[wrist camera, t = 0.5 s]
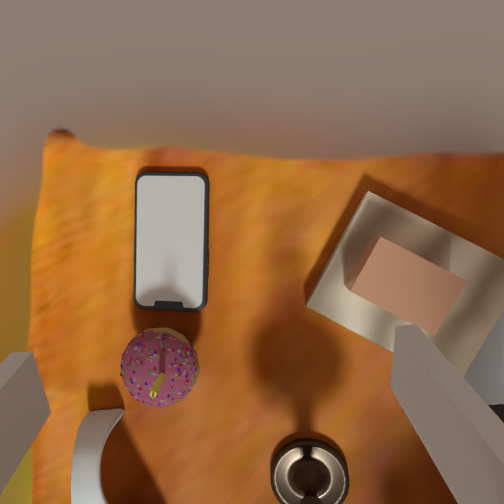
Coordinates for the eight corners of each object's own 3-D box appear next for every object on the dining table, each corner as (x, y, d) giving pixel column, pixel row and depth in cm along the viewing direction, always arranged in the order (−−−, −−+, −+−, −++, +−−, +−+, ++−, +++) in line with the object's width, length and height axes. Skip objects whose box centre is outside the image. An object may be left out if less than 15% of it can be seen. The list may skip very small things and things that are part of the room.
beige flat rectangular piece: (515, 268, 40) (527, 270, 38) (449, 378, 42) (457, 386, 40) (364, 192, 41) (368, 190, 39) (305, 302, 43) (306, 306, 41)
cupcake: (204, 316, 44) (171, 348, 32) (211, 386, 45) (181, 443, 33) (134, 321, 45) (78, 354, 33) (142, 389, 46) (89, 446, 34)
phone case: (139, 173, 45) (137, 306, 45) (133, 171, 43) (131, 309, 44) (211, 174, 44) (209, 309, 44) (209, 172, 42) (206, 312, 43)
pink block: (449, 275, 39) (467, 280, 35) (420, 324, 40) (434, 335, 36) (371, 235, 40) (380, 236, 36) (344, 285, 40) (349, 291, 36)
